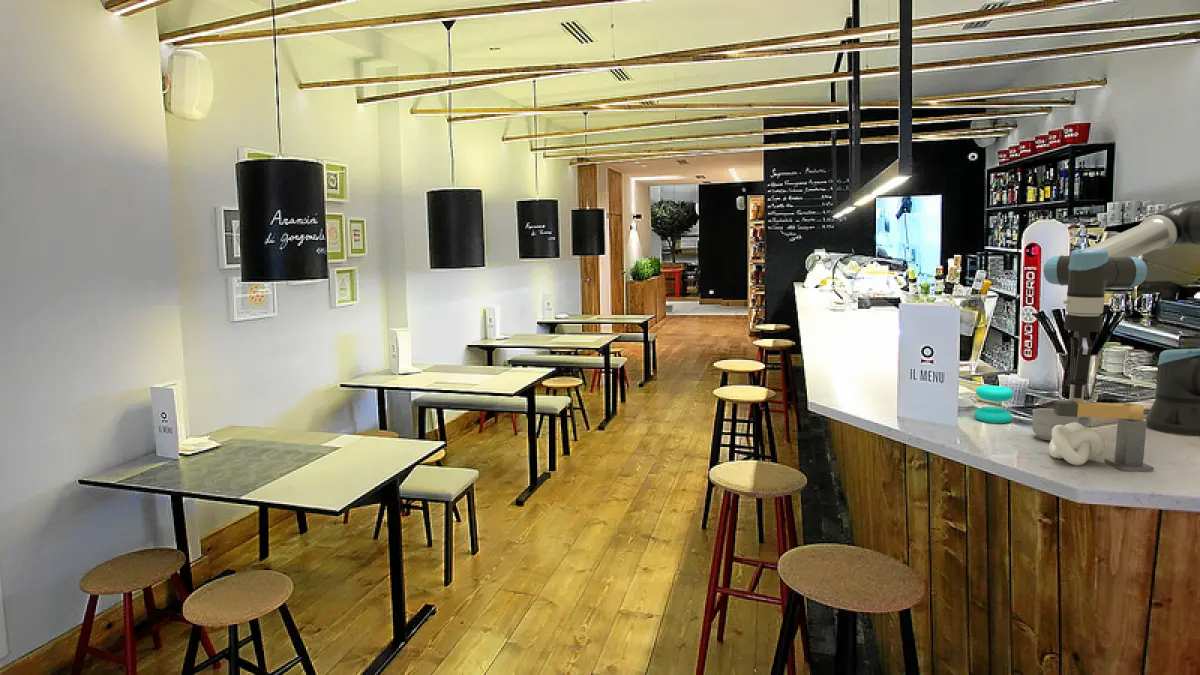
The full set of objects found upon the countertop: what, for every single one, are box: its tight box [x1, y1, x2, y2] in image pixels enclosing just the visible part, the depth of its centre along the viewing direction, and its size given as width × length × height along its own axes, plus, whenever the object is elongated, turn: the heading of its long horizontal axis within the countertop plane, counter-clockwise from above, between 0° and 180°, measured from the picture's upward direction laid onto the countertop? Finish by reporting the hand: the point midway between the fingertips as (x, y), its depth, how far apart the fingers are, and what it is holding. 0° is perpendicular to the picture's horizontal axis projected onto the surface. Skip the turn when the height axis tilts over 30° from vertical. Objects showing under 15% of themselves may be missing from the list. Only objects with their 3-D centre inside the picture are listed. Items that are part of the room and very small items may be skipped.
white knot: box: [1048, 422, 1106, 466], centre depth 179 cm, size 11×12×9 cm
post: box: [1103, 418, 1155, 472], centre depth 174 cm, size 7×7×12 cm
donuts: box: [974, 384, 1014, 424], centre depth 221 cm, size 10×10×10 cm
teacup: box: [1031, 408, 1093, 442], centre depth 198 cm, size 14×11×8 cm
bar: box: [1053, 399, 1145, 420], centre depth 175 cm, size 18×4×3 cm, turn 74°
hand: (1075, 410), depth 178 cm, fingers closed
